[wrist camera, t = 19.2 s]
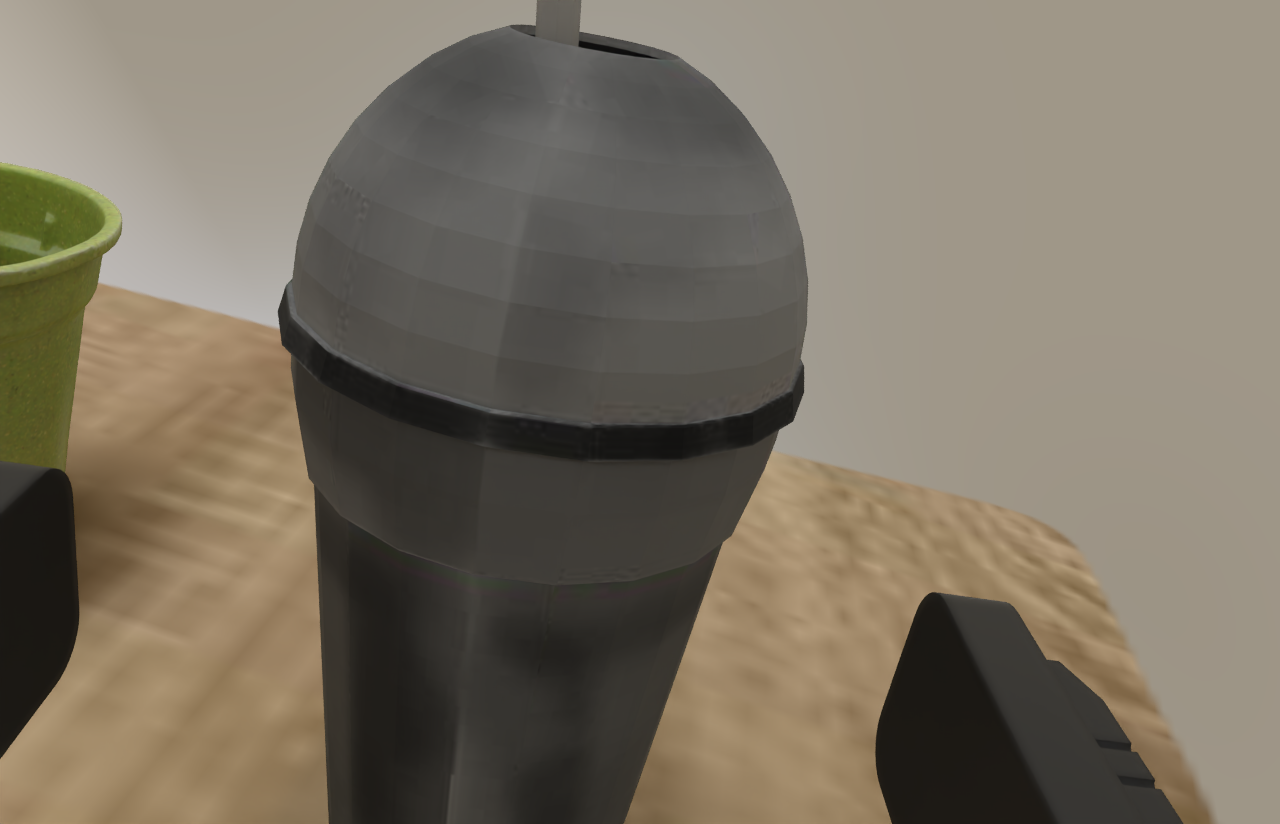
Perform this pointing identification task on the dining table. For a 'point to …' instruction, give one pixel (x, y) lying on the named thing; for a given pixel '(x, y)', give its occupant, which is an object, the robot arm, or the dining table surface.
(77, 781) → the dining table surface
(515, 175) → the beverage cup
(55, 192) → the plant pot
